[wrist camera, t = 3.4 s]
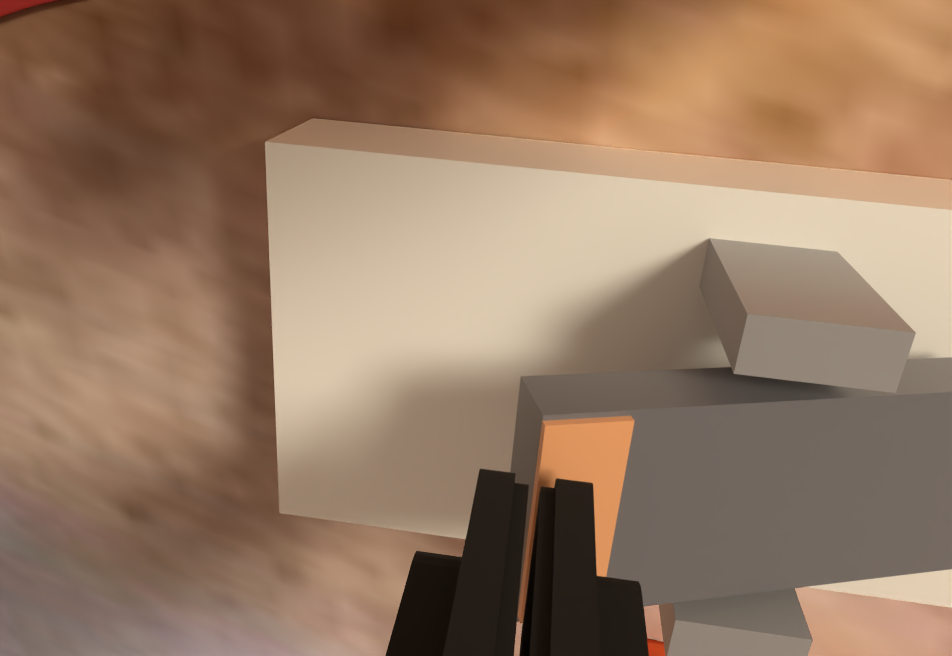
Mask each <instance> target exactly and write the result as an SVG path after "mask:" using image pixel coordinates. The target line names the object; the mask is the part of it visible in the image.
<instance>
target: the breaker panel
mask: <svg viewBox="0 0 952 656" xmlns="http://www.w3.org/2000/svg"><path fill="white" fill-rule="evenodd" d="M265 159H266V184H267V210H268V235H269V261H270V286H271V311H272V337H273V362H274V388H275V413H276V439H277V464H278V490H279V513H282V514H289V515H296V516H303V517H310V518H317V519H324V520H332V521H339V522H346V523H353V524H360V525H367V526H374V527H381V528H389V529H396V530H403V531H410V532H417V533H424V534H431V535H438V536H445V537H453V538H460V539H466V535H467V530H468V525H469V520H470V515H471V510H472V505H473V500H474V495H475V490H476V484H477V479H478V474H479V470H480V469H488V470H496V471H504V472H510V470H511V461H512V451H513V442H514V433H515V424H516V414H517V405H518V396H519V387H520V378H521V376H538V375H560V374H583V373H606V372H629V371H651V370H674V369H697V368H720V367H731V368H732V371H733V373H734V374H740V375H748V376H757V377H765V378H773V379H782V380H790V381H799V382H807V383H815V384H824V385H832V386H841V387H849V388H857V389H866V390H874V391H883V392H891V393H896V391H897V388H898V385H899V382H900V379H901V376H902V373H903V370H904V367H905V364H906V361H907V359H924V358H947V357H952V180H949V179H939V178H929V177H918V176H908V175H897V174H887V173H877V172H866V171H856V170H846V169H835V168H825V167H814V166H804V165H794V164H783V163H773V162H763V161H752V160H742V159H731V158H721V157H711V156H700V155H690V154H679V153H669V152H659V151H648V150H638V149H628V148H617V147H607V146H596V145H586V144H576V143H565V142H555V141H545V140H534V139H524V138H513V137H503V136H493V135H482V134H472V133H461V132H451V131H441V130H430V129H420V128H410V127H399V126H389V125H378V124H368V123H358V122H347V121H337V120H327V119H316V118H312V119H310V120H308V121H306V122H304V123H302V124H300V125H298V126H296V127H294V128H292V129H290V130H288V131H286V132H284V133H282V134H280V135H278V136H276V137H274V138H271V139H269V140H267V141H265ZM808 587H809V588H816V589H823V590H830V591H837V592H844V593H851V594H858V595H865V596H873V597H880V598H887V599H894V600H901V601H908V602H915V603H922V604H930V605H937V606H944V607H951V608H952V569H949V570H941V571H933V572H924V573H916V574H908V575H899V576H891V577H883V578H875V579H866V580H858V581H850V582H841V583H833V584H825V585H816V586H808ZM659 609H660V617H661V625H662V633H663V641H664V649H665V656H807V655H808V652H809V649H810V646H811V643H812V641H813V640H812V637H811V634H810V631H809V628H808V625H807V623H806V620H805V617H804V614H803V611H802V609H801V606H800V603H799V600H798V597H797V594H796V592H795V589H794V588H792V589H783V590H775V591H767V592H758V593H750V594H742V595H733V596H725V597H717V598H709V599H700V600H692V601H684V602H675V603H667V604H659Z"/></svg>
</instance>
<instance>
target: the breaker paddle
mask: <svg viewBox="0 0 952 656" xmlns="http://www.w3.org/2000/svg"><path fill="white" fill-rule="evenodd" d="M510 472H511V473H516V475H515V483H520V484H527V485H529V491H528V502H527V513H526V524H525V535H524V546H523V557H522V568H521V579H520V590H519V601H518V612H517V622H518V621H520V623H523V618H524V610H525V602H526V594H527V587H528V579H529V571H530V563H531V555H532V548H533V540H534V532H535V524H536V517H537V509H538V501H539V493H540V487H541V486H543V487H551V488H554V486H555V480H556V478H558V479H566V480H574V481H582V482H590V483H593V490H594V516H595V543H596V569H597V576H603V577H610V578H617V579H625V580H632V581H639V583H640V585H641V591H642V598H643V606H650V605H659V604H667V603H675V602H684V601H692V600H700V599H709V598H717V597H725V596H733V595H742V594H750V593H758V592H767V591H775V590H783V589H792V588H800V587H808V586H816V585H825V584H833V583H841V582H850V581H858V580H866V579H875V578H883V577H891V576H899V575H908V574H916V573H924V572H933V571H941V570H949V569H952V357H947V358H924V359H907V361H906V364H905V367H904V370H903V373H902V376H901V379H900V382H899V385H898V388H897V391H896V393H891V392H883V391H874V390H866V389H857V388H849V387H841V386H832V385H824V384H815V383H807V382H799V381H790V380H782V379H773V378H765V377H757V376H748V375H740V374H734V373H733V371H732V368H731V367H720V368H697V369H674V370H651V371H629V372H606V373H583V374H560V375H538V376H521V378H520V387H519V396H518V405H517V414H516V424H515V433H514V442H513V451H512V461H511V470H510Z"/></svg>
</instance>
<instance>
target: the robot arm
mask: <svg viewBox="0 0 952 656" xmlns="http://www.w3.org/2000/svg"><path fill="white" fill-rule="evenodd" d="M515 475H516V473H511V472H504V471H496V470H488V469H480V470H479V474H478V479H477V484H476V490H475V495H474V500H473V505H472V510H471V515H470V520H469V525H468V530H467V535H466V541H465V546H464V551H463V556H462V557H456V556H449V555H442V554H434V553H427V552H420V551H416V553H415V555H414V558H413V561H412V564H411V567H410V571H409V574H408V578H407V582H406V585H405V589H404V592H403V596H402V599H401V603H400V606H399V610H398V614H397V617H396V621H395V624H394V628H393V631H392V635H391V638H390V642H389V645H388V649H387V653H386V656H514V645H515V634H516V623H517V612H518V601H519V590H520V579H521V568H522V557H523V546H524V535H525V524H526V513H527V502H528V491H529V485H527V484H520V483H515ZM520 656H649V652H648V643H647V634H646V625H645V616H644V607H643V598H642V591H641V585H640V583H639V581H632V580H625V579H617V578H610V577H603V576H597V569H596V543H595V516H594V490H593V483H590V482H582V481H574V480H566V479H558V478H556V480H555V486H554V488H551V487H543V486H541V487H540V493H539V501H538V509H537V517H536V524H535V532H534V540H533V548H532V555H531V563H530V571H529V579H528V587H527V594H526V602H525V610H524V618H523V626H522V635H521V645H520Z"/></svg>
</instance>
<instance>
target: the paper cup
mask: <svg viewBox="0 0 952 656" xmlns="http://www.w3.org/2000/svg"><path fill="white" fill-rule="evenodd" d="M647 643H648V652H649V656H665V649H664V642H660V641H656V640H651V639H647Z"/></svg>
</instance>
